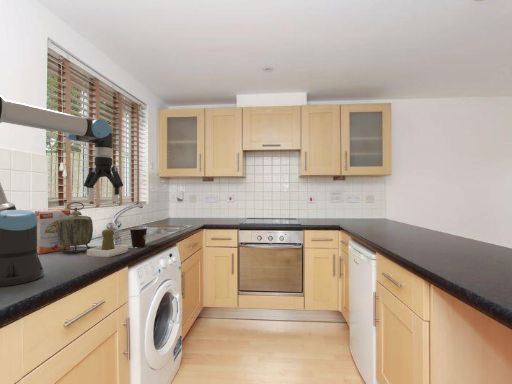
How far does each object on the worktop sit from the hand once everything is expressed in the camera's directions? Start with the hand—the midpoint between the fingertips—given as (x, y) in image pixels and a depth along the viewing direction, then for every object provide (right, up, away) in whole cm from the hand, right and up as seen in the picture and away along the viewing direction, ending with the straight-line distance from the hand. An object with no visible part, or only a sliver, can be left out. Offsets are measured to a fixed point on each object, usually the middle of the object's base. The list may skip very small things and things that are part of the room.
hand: (103, 201), depth 133 cm
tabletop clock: (-17, -26, +6) cm, 31 cm away
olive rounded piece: (+2, -25, +2) cm, 25 cm away
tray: (+2, -25, +2) cm, 25 cm away
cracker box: (-30, -26, +8) cm, 40 cm away
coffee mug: (+8, -25, +18) cm, 32 cm away
